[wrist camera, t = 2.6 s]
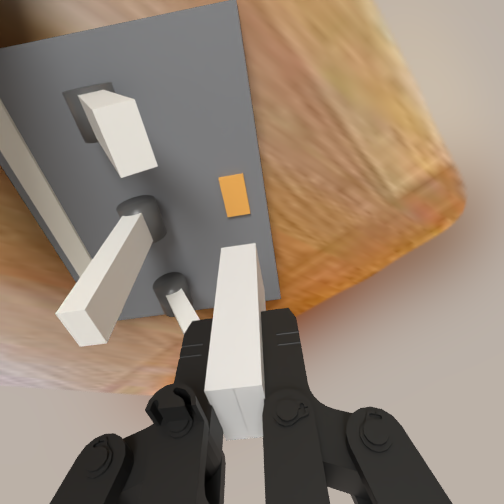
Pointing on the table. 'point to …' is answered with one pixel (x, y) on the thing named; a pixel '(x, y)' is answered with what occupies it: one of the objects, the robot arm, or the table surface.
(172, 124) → the breaker panel
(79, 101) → the lever
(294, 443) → the robot arm
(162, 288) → the lever
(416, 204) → the table surface
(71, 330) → the lever
